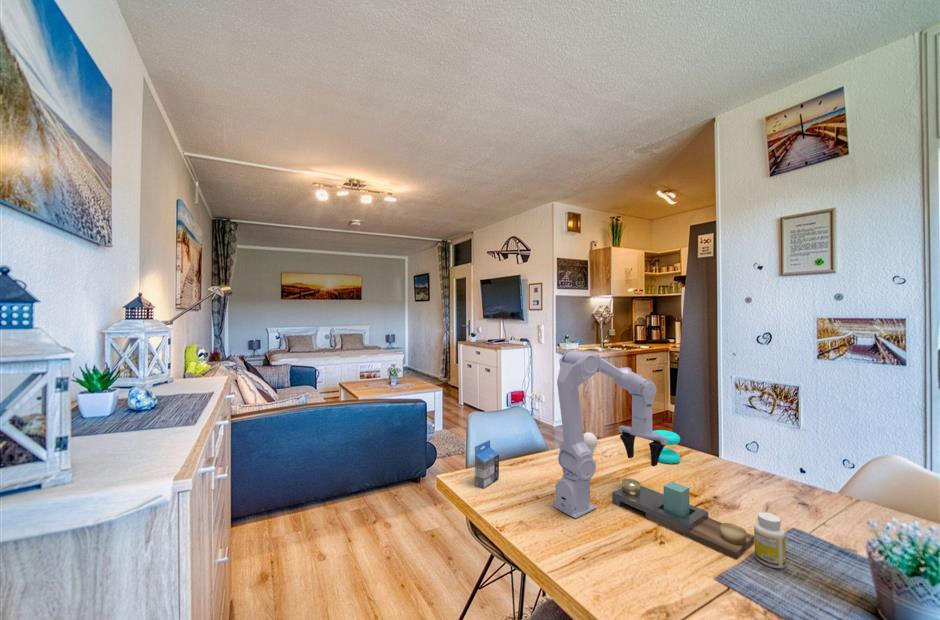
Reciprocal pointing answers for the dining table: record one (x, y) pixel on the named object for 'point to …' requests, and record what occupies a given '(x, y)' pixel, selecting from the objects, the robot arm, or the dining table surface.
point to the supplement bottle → (769, 541)
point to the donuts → (666, 453)
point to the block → (676, 499)
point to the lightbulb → (590, 441)
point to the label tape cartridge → (486, 465)
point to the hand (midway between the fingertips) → (642, 461)
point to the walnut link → (715, 535)
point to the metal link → (655, 504)
